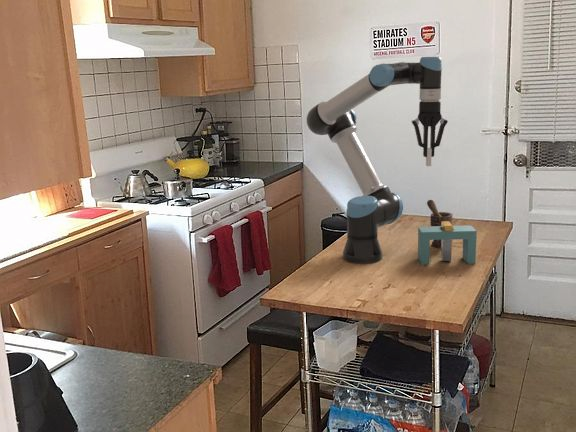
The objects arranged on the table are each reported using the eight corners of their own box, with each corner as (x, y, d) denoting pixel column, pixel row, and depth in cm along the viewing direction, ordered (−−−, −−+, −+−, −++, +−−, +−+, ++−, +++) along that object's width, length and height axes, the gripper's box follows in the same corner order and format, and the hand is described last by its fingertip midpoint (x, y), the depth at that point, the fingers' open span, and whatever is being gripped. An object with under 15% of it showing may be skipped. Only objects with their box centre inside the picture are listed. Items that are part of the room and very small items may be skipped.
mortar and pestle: (443, 251, 262) (444, 202, 257) (423, 248, 267) (424, 200, 262) (454, 244, 271) (456, 196, 266) (435, 241, 276) (436, 194, 271)
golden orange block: (443, 262, 247) (444, 226, 244) (440, 256, 254) (440, 221, 250) (452, 262, 247) (453, 225, 244) (448, 256, 254) (449, 221, 250)
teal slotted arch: (421, 264, 247) (421, 232, 244) (417, 258, 255) (418, 226, 252) (475, 263, 246) (476, 231, 243) (470, 257, 254) (471, 225, 251)
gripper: (413, 102, 235) (412, 167, 241) (450, 101, 235) (448, 166, 240) (410, 100, 242) (409, 164, 248) (446, 99, 242) (444, 163, 248)
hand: (428, 165), depth 244 cm, fingers closed
